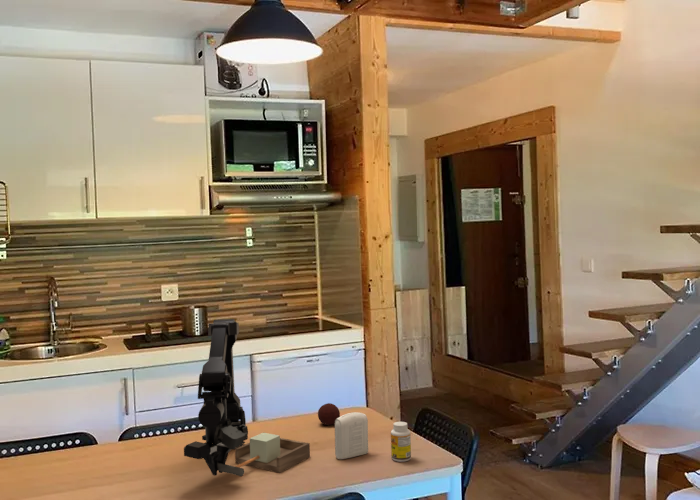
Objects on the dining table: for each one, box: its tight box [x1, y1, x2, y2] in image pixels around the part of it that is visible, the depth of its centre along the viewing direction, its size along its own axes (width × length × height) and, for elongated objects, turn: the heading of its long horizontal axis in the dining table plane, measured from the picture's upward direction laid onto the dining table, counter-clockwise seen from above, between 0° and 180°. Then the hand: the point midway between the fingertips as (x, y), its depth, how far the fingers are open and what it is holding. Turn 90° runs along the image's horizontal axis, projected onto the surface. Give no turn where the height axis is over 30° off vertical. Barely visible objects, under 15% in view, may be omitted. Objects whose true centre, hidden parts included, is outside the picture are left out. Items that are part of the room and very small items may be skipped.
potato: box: [317, 402, 341, 426], centre depth 228 cm, size 7×8×7 cm
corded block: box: [217, 432, 281, 477], centre depth 186 cm, size 10×20×6 cm, turn 147°
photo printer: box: [334, 411, 369, 460], centre depth 197 cm, size 10×4×12 cm, turn 123°
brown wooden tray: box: [234, 437, 311, 473], centre depth 195 cm, size 16×14×4 cm
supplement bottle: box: [390, 421, 412, 463], centre depth 192 cm, size 6×6×10 cm
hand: (217, 473), depth 181 cm, fingers closed on corded block, 2 cm apart
